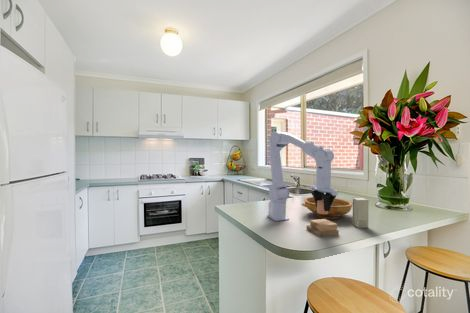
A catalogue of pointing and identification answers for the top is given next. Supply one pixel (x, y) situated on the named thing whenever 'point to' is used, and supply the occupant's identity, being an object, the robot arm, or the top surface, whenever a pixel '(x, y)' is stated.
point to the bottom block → (322, 234)
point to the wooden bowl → (336, 209)
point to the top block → (323, 225)
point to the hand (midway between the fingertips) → (322, 209)
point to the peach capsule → (321, 207)
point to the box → (360, 212)
